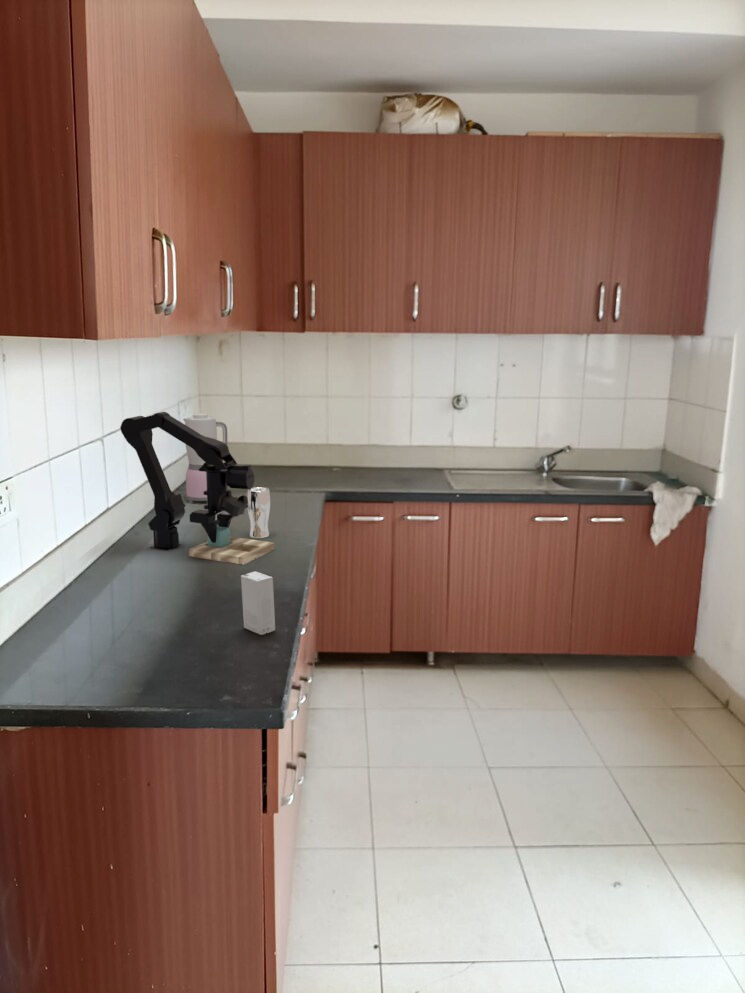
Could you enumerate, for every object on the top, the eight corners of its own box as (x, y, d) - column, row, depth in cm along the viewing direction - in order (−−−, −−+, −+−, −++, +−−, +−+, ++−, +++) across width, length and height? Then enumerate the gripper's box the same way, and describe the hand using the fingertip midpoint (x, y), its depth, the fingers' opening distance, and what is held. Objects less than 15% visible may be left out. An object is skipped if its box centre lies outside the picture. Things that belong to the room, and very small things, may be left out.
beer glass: (249, 540, 228) (248, 492, 224) (246, 534, 234) (245, 487, 231) (272, 539, 229) (271, 491, 226) (269, 533, 236) (268, 486, 233)
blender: (186, 505, 272) (183, 416, 264) (185, 497, 283) (181, 412, 276) (231, 502, 276) (228, 415, 269) (227, 495, 287) (225, 412, 280)
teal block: (208, 551, 214) (207, 529, 213) (217, 547, 218) (216, 526, 217) (221, 553, 212) (220, 531, 211) (230, 549, 216) (229, 527, 215)
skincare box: (276, 630, 161) (275, 576, 158) (259, 636, 157) (258, 581, 155) (258, 622, 165) (256, 570, 162) (241, 628, 162) (240, 574, 159)
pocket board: (189, 557, 210) (188, 549, 209) (222, 543, 224) (222, 535, 224) (243, 566, 203) (243, 557, 202) (274, 551, 217) (274, 542, 217)
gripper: (221, 496, 200) (223, 552, 203) (259, 483, 216) (260, 536, 220) (187, 492, 204) (189, 547, 207) (227, 480, 221) (228, 531, 224)
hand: (218, 540), depth 215 cm, fingers closed on teal block, 4 cm apart
